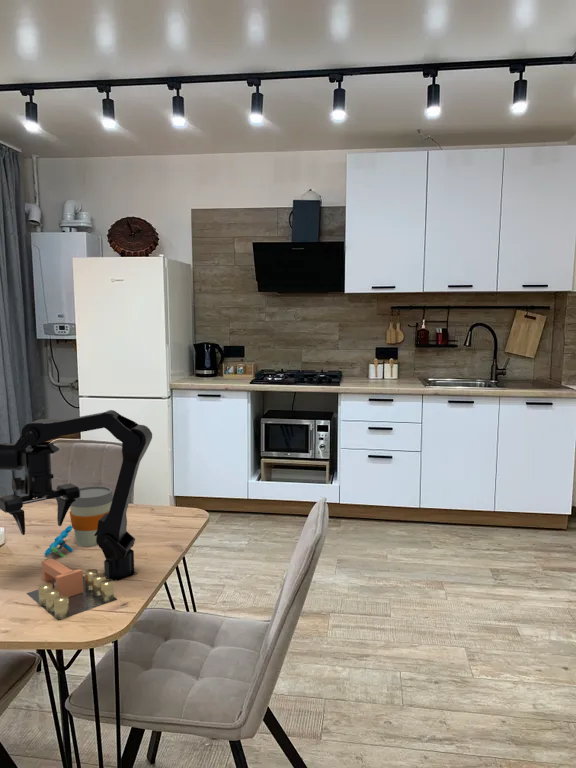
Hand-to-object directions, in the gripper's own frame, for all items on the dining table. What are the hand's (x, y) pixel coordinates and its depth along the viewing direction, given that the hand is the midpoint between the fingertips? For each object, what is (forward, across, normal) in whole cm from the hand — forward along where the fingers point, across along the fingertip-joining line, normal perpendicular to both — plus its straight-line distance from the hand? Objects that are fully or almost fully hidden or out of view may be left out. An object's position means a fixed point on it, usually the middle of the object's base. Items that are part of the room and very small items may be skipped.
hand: (41, 530), depth 150 cm
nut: (+11, 0, +14) cm, 18 cm away
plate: (+12, 0, +18) cm, 21 cm away
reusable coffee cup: (+12, -20, -14) cm, 27 cm away
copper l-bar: (+12, +1, +11) cm, 16 cm away
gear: (+12, -9, -11) cm, 19 cm away
